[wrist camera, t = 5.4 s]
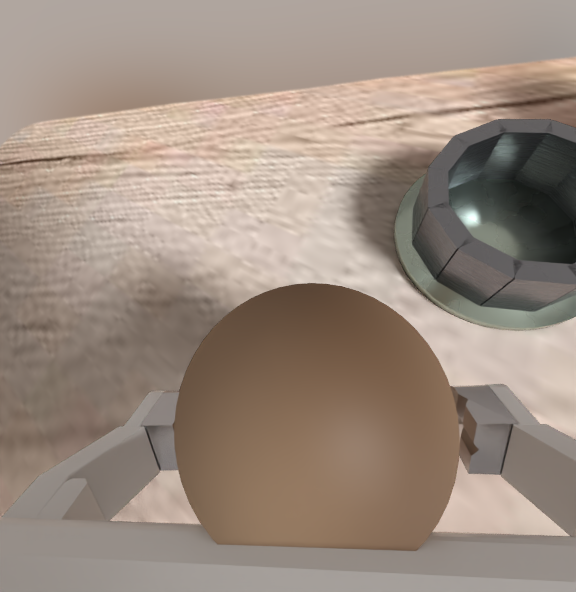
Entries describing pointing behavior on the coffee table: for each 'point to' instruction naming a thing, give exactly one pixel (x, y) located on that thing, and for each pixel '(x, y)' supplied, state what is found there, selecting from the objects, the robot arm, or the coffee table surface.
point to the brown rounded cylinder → (316, 425)
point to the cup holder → (496, 225)
